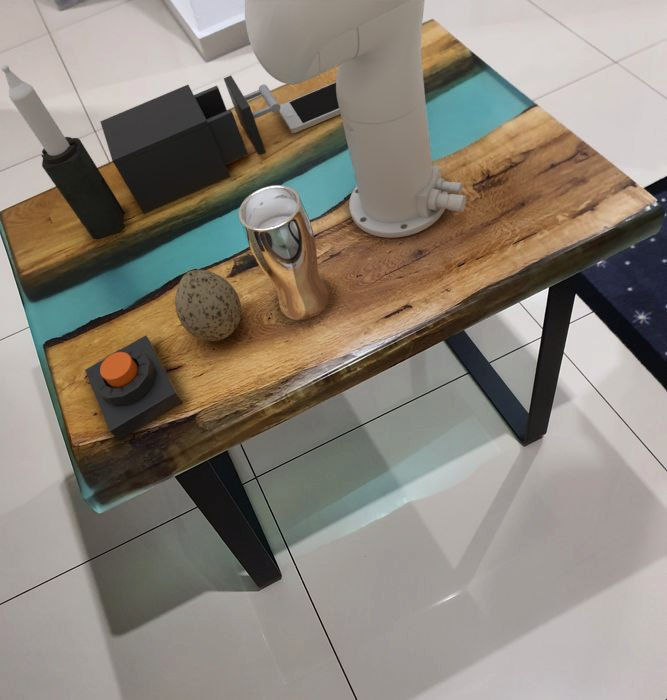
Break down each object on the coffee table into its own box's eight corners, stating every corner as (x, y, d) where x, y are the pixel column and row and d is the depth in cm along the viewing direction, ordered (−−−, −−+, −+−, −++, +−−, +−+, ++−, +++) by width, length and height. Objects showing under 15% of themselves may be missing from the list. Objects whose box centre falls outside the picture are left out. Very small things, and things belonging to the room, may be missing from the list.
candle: (92, 218, 95) (-16, 60, 76) (124, 207, 95) (25, 47, 75) (91, 241, 92) (-21, 83, 72) (125, 230, 92) (22, 69, 72)
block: (183, 402, 72) (168, 383, 69) (119, 440, 71) (101, 423, 68) (153, 345, 78) (139, 325, 75) (93, 379, 77) (76, 361, 74)
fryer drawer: (272, 110, 100) (258, 63, 94) (293, 141, 95) (278, 93, 89) (172, 152, 99) (151, 108, 93) (187, 186, 94) (165, 142, 87)
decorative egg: (237, 297, 80) (208, 240, 72) (259, 334, 76) (231, 278, 68) (185, 325, 79) (150, 270, 71) (205, 364, 75) (170, 311, 67)
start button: (142, 376, 71) (135, 367, 70) (113, 393, 70) (105, 385, 69) (132, 355, 73) (125, 346, 72) (103, 371, 73) (95, 363, 71)
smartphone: (278, 110, 101) (276, 105, 101) (367, 73, 102) (366, 67, 101) (292, 134, 97) (290, 129, 96) (386, 95, 98) (385, 89, 97)
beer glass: (309, 332, 74) (272, 240, 63) (265, 310, 78) (222, 218, 66) (344, 290, 77) (316, 194, 65) (300, 271, 80) (265, 176, 68)
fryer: (211, 139, 101) (188, 84, 93) (230, 176, 94) (206, 120, 87) (130, 174, 100) (100, 121, 92) (143, 214, 93) (112, 160, 86)
